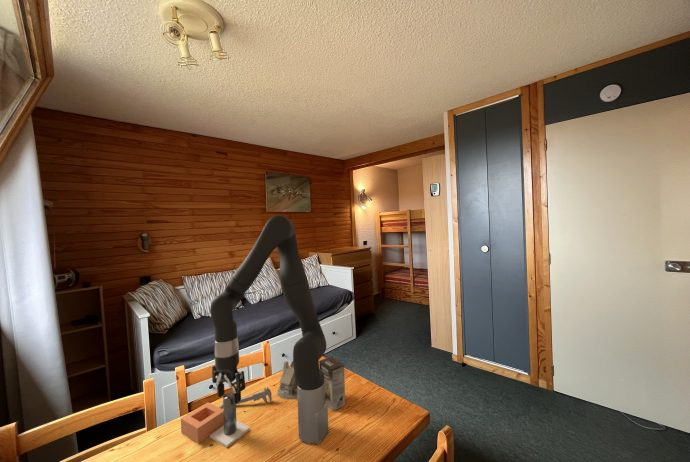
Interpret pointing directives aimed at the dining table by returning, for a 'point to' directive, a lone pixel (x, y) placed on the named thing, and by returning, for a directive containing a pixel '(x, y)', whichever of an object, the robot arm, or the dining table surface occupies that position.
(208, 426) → the block
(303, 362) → the robot arm
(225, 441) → the mat
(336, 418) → the dining table surface
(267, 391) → the caliper
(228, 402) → the dark grey bar
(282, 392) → the ceramic cottage
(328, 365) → the coffee box
